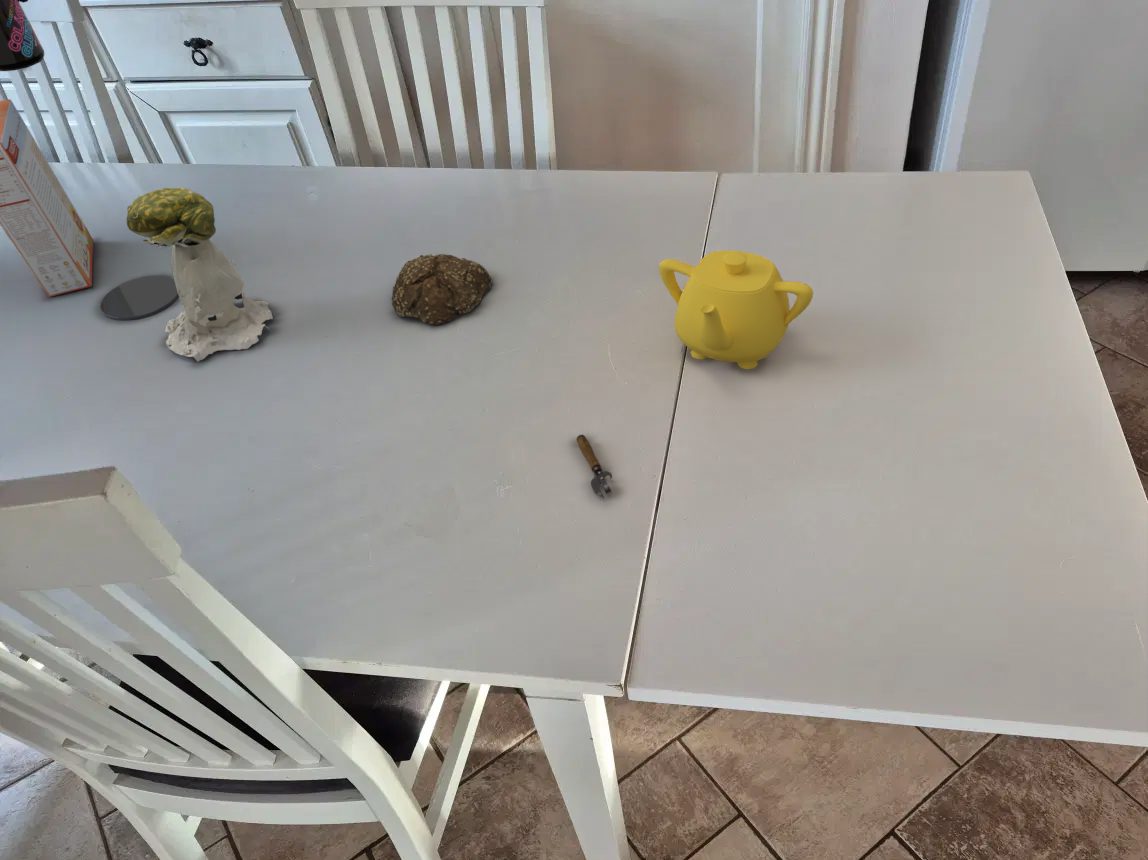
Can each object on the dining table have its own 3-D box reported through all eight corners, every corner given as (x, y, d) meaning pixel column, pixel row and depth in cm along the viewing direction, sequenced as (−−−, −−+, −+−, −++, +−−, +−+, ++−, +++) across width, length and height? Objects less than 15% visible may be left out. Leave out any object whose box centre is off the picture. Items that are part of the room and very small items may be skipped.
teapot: (649, 332, 103) (645, 245, 94) (750, 300, 107) (755, 214, 98) (702, 397, 94) (703, 308, 86) (810, 360, 98) (822, 271, 89)
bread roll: (414, 267, 115) (405, 234, 112) (499, 274, 113) (493, 241, 110) (375, 321, 107) (365, 288, 103) (467, 330, 105) (459, 296, 101)
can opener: (576, 442, 90) (575, 435, 89) (597, 438, 90) (596, 430, 89) (596, 502, 84) (595, 495, 83) (618, 497, 84) (618, 489, 83)
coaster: (129, 328, 108) (128, 326, 108) (86, 305, 112) (85, 303, 112) (196, 290, 113) (194, 288, 113) (152, 270, 118) (151, 267, 117)
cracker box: (51, 250, 123) (-39, 105, 107) (95, 240, 124) (13, 96, 109) (45, 299, 113) (-54, 149, 98) (93, 288, 115) (3, 138, 100)
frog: (166, 318, 109) (93, 185, 96) (267, 291, 112) (210, 159, 99) (171, 369, 102) (93, 232, 88) (279, 338, 105) (219, 202, 92)
